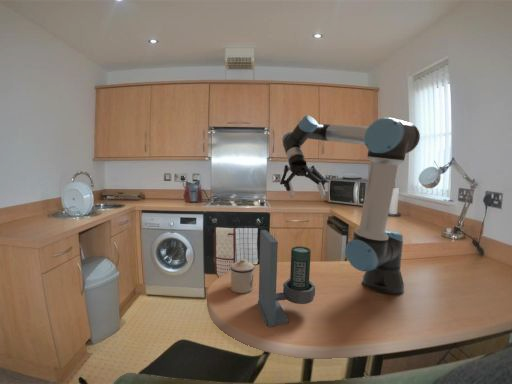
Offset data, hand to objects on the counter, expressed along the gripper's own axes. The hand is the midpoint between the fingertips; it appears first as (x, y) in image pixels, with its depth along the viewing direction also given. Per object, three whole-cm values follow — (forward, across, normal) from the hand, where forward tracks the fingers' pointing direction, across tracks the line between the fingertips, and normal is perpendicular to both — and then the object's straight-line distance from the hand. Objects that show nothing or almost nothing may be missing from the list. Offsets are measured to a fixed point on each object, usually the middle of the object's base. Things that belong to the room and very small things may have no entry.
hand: (308, 196), depth 107 cm
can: (+36, +11, -6) cm, 38 cm away
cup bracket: (+40, +15, -10) cm, 44 cm away
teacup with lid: (+26, +27, -25) cm, 45 cm away
